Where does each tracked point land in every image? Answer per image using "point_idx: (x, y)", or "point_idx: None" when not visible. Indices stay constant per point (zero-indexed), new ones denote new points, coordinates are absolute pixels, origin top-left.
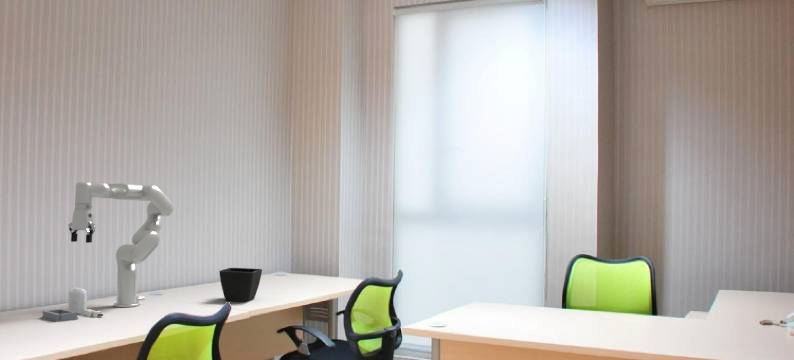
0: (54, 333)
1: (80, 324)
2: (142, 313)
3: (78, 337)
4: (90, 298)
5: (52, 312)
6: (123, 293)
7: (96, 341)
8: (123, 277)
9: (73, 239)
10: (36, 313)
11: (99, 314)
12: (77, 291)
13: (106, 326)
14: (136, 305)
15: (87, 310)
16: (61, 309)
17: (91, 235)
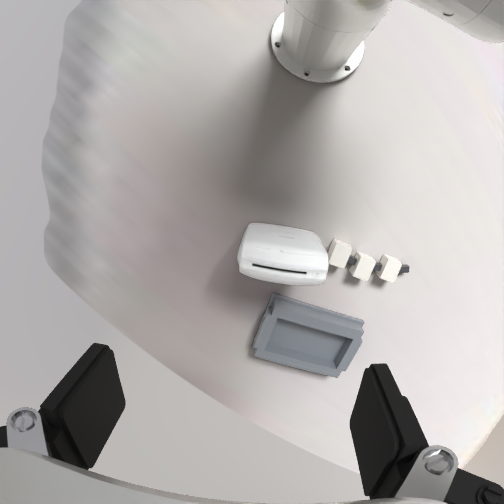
0: None
1: (409, 362)
2: (465, 161)
3: (458, 424)
4: (91, 8)
5: (299, 361)
6: (342, 56)
7: (489, 422)
8: (358, 33)
9: (114, 409)
10: (173, 297)
11: (400, 272)
12: (299, 285)
13: (469, 349)
14: (363, 44)
15: (345, 264)
16: (282, 316)
17: (423, 449)
